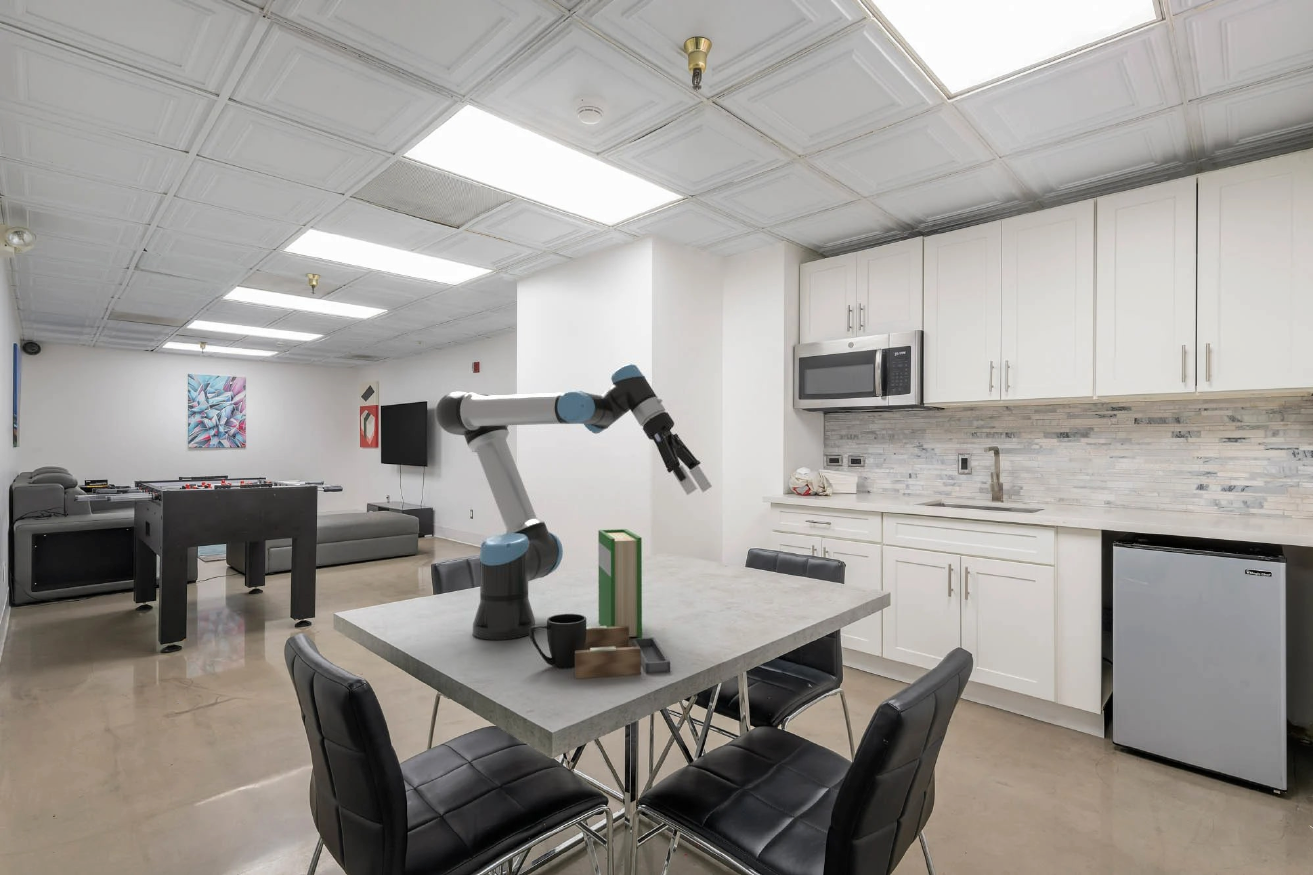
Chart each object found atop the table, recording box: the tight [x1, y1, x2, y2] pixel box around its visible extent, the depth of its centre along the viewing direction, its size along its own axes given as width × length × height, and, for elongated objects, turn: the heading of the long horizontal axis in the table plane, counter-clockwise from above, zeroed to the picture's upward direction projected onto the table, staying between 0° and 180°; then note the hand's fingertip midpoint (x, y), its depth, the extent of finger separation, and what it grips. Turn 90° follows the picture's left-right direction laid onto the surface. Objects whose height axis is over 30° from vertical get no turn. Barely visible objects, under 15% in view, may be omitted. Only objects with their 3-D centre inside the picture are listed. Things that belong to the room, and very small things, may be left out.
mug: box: [529, 613, 587, 669], centre depth 130 cm, size 8×12×10 cm
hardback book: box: [597, 528, 643, 639], centre depth 156 cm, size 18×7×24 cm, turn 15°
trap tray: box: [631, 637, 671, 674], centre depth 133 cm, size 5×17×2 cm, turn 11°
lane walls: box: [574, 625, 642, 680], centre depth 132 cm, size 13×17×5 cm
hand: (700, 490), depth 151 cm, fingers open, 13 cm apart
